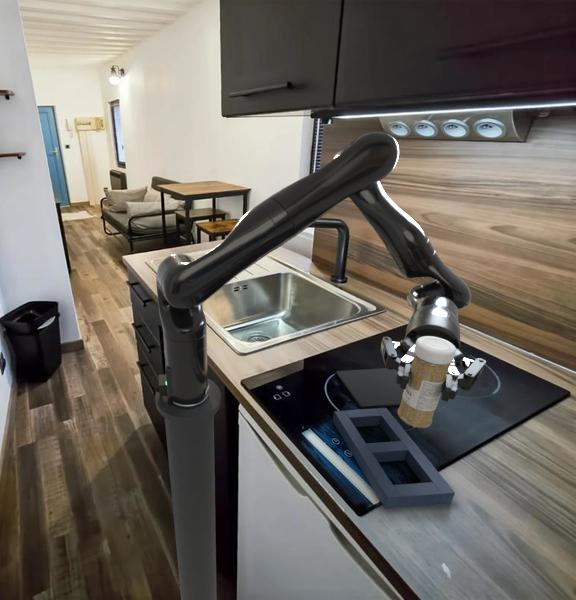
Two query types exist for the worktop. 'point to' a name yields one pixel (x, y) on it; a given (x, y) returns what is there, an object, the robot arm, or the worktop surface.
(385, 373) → the mat
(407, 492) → the holder
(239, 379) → the worktop surface
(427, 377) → the sprinkles bottle
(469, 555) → the worktop surface
